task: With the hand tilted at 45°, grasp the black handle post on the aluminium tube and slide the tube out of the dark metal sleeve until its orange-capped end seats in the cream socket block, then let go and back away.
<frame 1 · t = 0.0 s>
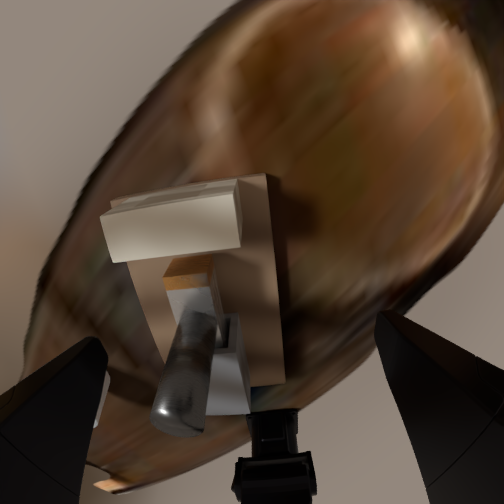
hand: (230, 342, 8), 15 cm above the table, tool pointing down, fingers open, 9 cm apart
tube: (203, 384, 18), point 8 cm above the table, slide at 0.0 cm
base: (209, 302, 25), on the table
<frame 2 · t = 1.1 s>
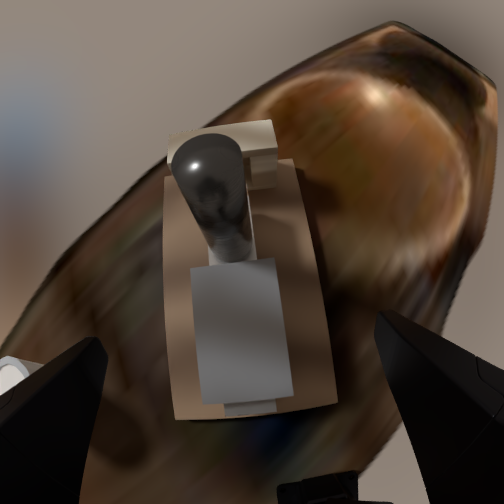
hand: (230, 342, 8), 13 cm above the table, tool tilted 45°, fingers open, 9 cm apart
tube: (230, 280, 15), point 8 cm above the table, slide at 0.0 cm
base: (240, 281, 23), on the table
shot glass: (65, 395, 20), on the table
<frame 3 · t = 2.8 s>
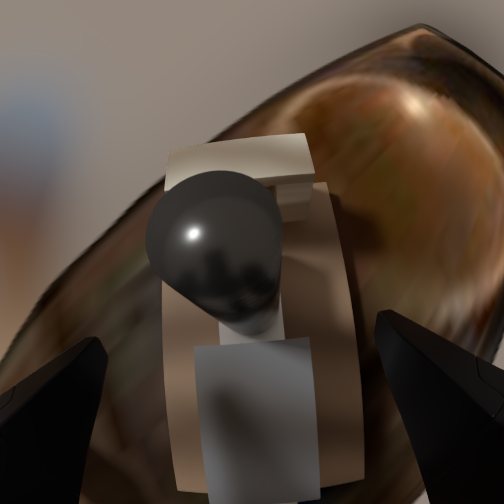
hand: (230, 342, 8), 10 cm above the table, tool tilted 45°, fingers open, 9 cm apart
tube: (249, 379, 10), point 8 cm above the table, slide at 0.0 cm
base: (258, 340, 18), on the table
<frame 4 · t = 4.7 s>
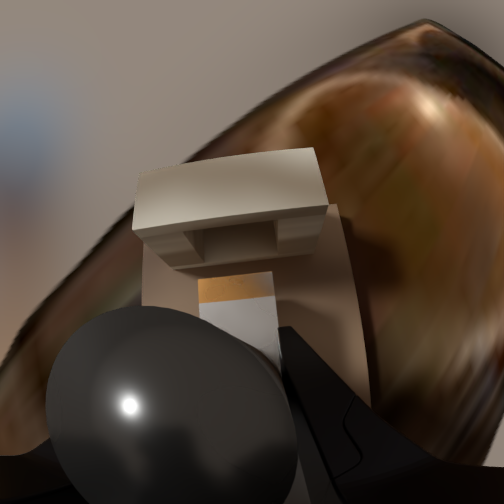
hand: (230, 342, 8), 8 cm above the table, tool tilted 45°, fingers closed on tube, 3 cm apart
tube: (244, 487, 6), point 8 cm above the table, slide at 0.0 cm, touching gripper
base: (256, 396, 14), on the table
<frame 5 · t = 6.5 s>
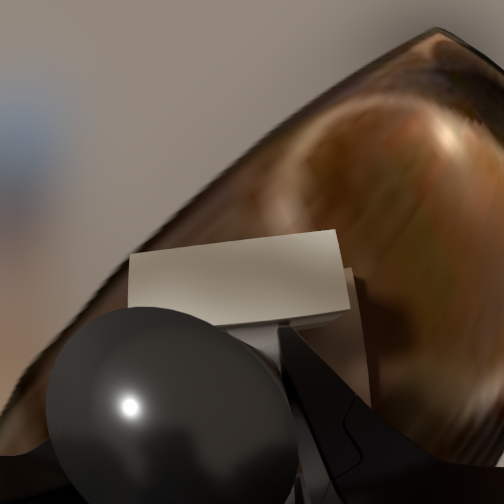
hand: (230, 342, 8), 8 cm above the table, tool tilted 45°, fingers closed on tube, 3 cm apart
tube: (244, 487, 6), point 8 cm above the table, slide at 4.1 cm, touching gripper
base: (263, 461, 13), on the table
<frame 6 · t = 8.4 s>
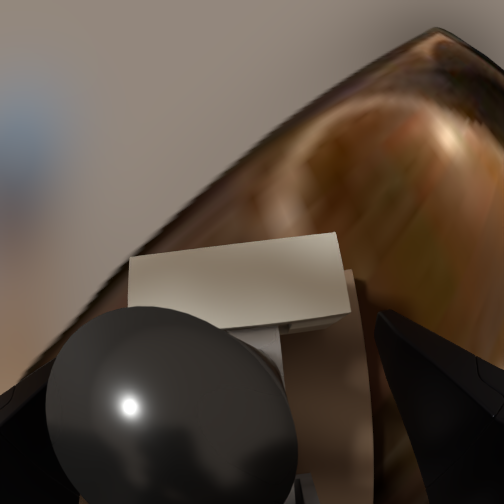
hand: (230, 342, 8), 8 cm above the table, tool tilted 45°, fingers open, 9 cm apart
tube: (244, 487, 6), point 8 cm above the table, slide at 4.2 cm
base: (263, 463, 13), on the table
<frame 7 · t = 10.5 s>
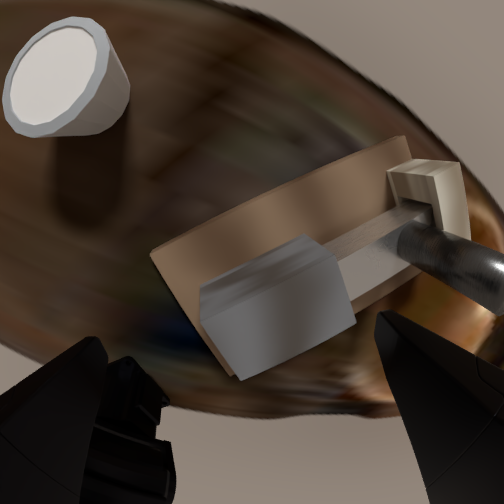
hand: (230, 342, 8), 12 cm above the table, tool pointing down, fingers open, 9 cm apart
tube: (399, 280, 14), point 8 cm above the table, slide at 4.2 cm
base: (315, 255, 21), on the table
shot glass: (94, 98, 16), on the table
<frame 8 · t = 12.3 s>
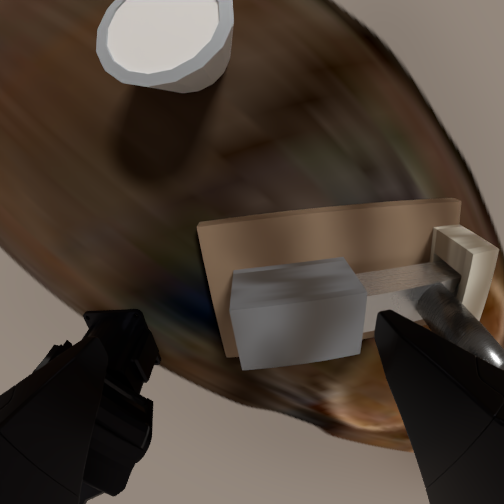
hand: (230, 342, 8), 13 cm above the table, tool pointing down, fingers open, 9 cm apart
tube: (411, 333, 15), point 8 cm above the table, slide at 4.2 cm
base: (344, 277, 22), on the table
shot glass: (189, 57, 16), on the table
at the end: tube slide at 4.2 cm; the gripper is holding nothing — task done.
